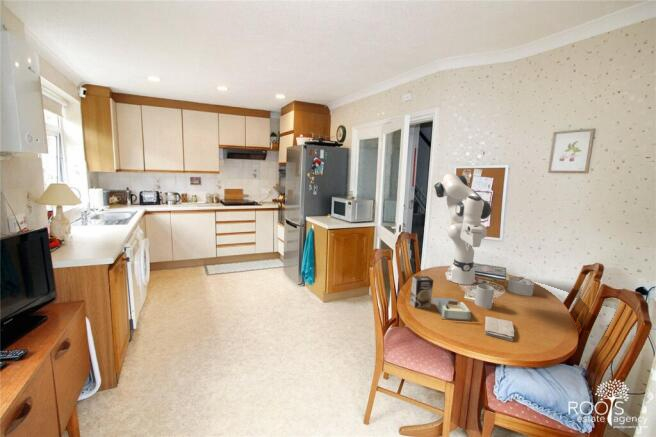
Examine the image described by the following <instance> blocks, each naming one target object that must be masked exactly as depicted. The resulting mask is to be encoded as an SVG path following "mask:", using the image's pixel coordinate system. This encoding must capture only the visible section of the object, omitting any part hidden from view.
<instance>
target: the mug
mask: <svg viewBox="0 0 656 437" xmlns="http://www.w3.org/2000/svg"><path fill="white" fill-rule="evenodd" d="M494 293H495V288H494V287H493V286H491V285H490V284H489V285H488V284H484V283H479V284H477V285H476V292H475V297H474V304H475V305H476V306H478V307H480V308H485V309H486V310H491V309H492V308H493V300H494Z"/></svg>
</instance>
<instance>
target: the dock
mask: <svg viewBox="0 0 656 437" xmlns="http://www.w3.org/2000/svg"><path fill="white" fill-rule="evenodd" d="M448 301H458V299H456V298H448V297H447V298H444V297H434V296H432V298H431V302H433V304H434V306H435V307H436V309H437V312H438V313H439V314H440V316H441V317H442V318H441V320H444V321H455V322H458V321H459V322H468V323H470V322H471V323H472V318H471V315H472V314H471V313H472V311H471V310H470V309H469V308H468V307H467V305H466V304H465V302H462V301H460V302H459V301H458V304H459V305H460V307H461V308H462V310H453V309H447V308H446V304H447V303H448Z"/></svg>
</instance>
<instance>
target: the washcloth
mask: <svg viewBox="0 0 656 437" xmlns="http://www.w3.org/2000/svg"><path fill="white" fill-rule="evenodd" d="M484 318H485V319H484V320H485V322H484V335H486V336H489V337H492V338H496V339H500V340H504V341H508V342H513V341H514V337H515V330H514V324H513V322H512V321H511V320H507V319H501V318H500V319H499V318H496V317H492V316H485V317H484Z"/></svg>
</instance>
